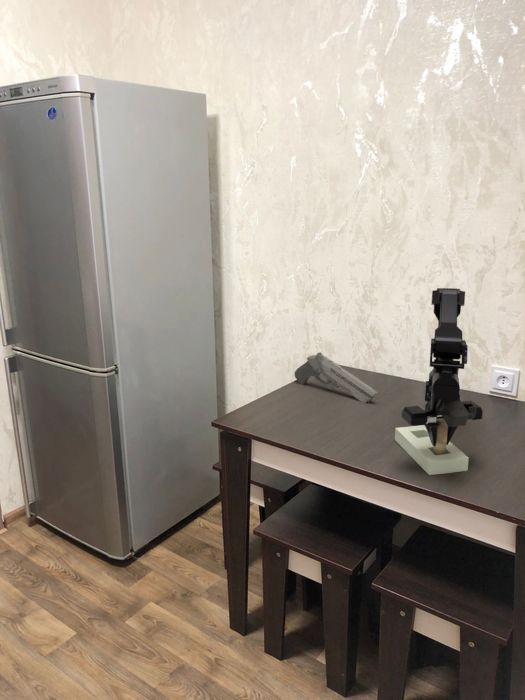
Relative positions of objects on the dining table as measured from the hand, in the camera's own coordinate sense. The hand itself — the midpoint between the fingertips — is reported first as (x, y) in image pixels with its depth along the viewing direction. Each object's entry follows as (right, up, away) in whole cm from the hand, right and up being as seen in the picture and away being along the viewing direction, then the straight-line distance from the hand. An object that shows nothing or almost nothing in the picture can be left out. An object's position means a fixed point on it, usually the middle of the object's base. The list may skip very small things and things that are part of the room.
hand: (439, 445), depth 139 cm
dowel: (0, -3, +1) cm, 4 cm away
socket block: (-1, -3, +6) cm, 7 cm away
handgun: (-20, +9, +51) cm, 55 cm away
